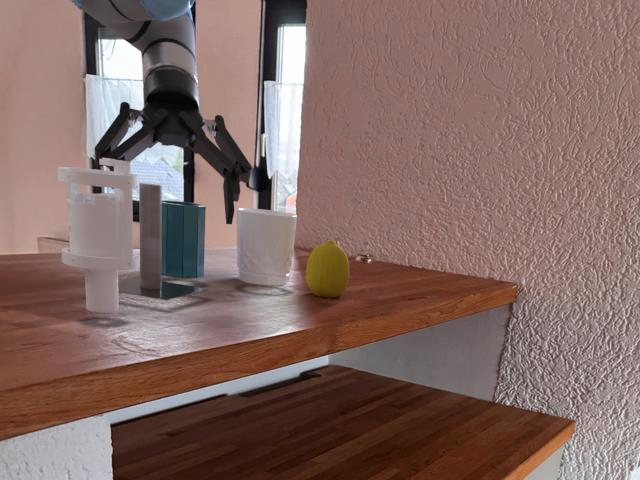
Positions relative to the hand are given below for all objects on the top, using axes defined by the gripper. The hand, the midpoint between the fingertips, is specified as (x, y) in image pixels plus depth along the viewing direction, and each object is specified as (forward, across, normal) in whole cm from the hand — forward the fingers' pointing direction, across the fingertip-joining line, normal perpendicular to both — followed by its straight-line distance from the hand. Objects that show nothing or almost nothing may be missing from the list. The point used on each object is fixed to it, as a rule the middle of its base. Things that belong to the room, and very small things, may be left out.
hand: (177, 212), depth 95 cm
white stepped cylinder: (+25, +9, +12) cm, 29 cm away
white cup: (+8, -11, -4) cm, 15 cm away
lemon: (+14, -18, +1) cm, 23 cm away
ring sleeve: (+7, 0, -5) cm, 9 cm away
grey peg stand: (+15, +4, +3) cm, 16 cm away
